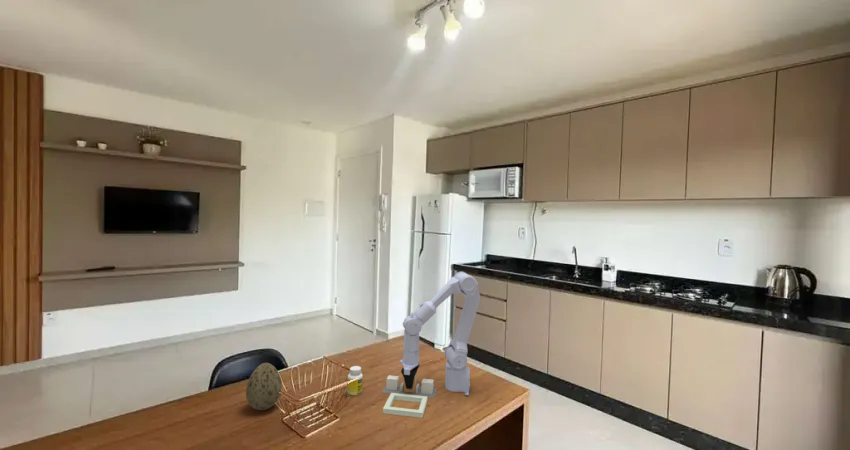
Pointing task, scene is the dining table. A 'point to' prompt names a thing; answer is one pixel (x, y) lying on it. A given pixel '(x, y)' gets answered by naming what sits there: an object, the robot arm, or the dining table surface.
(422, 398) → the tray
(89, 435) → the dining table surface
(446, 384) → the robot arm
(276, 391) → the decorative egg
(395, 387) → the block
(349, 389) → the supplement bottle
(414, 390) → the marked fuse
